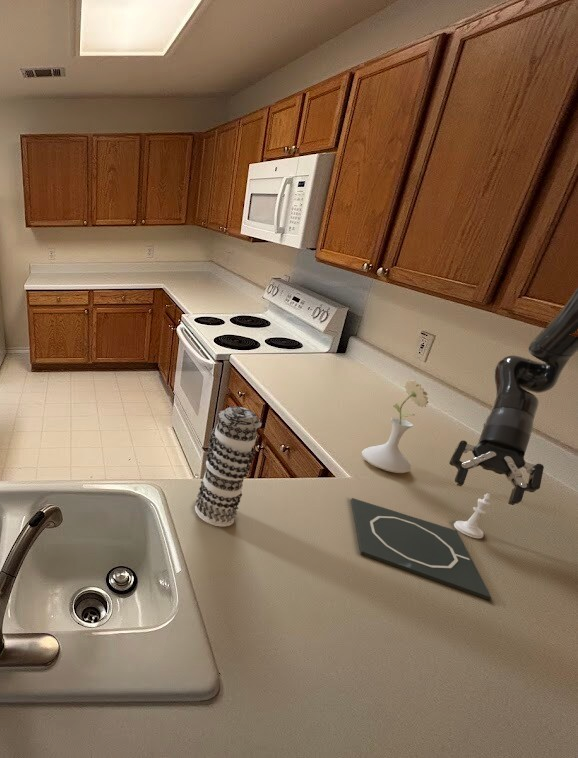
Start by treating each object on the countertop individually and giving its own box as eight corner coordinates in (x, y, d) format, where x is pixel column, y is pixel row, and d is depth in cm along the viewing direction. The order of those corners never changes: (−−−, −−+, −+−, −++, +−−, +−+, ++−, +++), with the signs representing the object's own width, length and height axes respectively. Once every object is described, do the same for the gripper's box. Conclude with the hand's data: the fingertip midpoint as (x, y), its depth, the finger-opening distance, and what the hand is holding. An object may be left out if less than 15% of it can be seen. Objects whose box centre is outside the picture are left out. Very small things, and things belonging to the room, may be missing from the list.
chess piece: (479, 529, 93) (500, 492, 89) (485, 542, 89) (507, 504, 85) (451, 519, 95) (470, 484, 91) (456, 532, 91) (476, 495, 87)
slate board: (455, 533, 91) (456, 530, 90) (489, 600, 74) (491, 597, 74) (350, 500, 99) (352, 497, 98) (360, 554, 82) (361, 550, 82)
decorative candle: (203, 494, 96) (227, 397, 87) (242, 513, 91) (272, 413, 82) (185, 512, 90) (209, 410, 80) (226, 534, 84) (257, 427, 75)
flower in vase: (413, 482, 109) (453, 396, 99) (363, 468, 113) (397, 385, 104) (400, 459, 120) (436, 380, 111) (355, 447, 124) (386, 370, 115)
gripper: (470, 413, 95) (448, 474, 92) (559, 438, 87) (539, 505, 83) (460, 426, 101) (439, 484, 97) (542, 450, 93) (523, 514, 89)
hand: (485, 494), depth 90 cm, fingers open, 8 cm apart
